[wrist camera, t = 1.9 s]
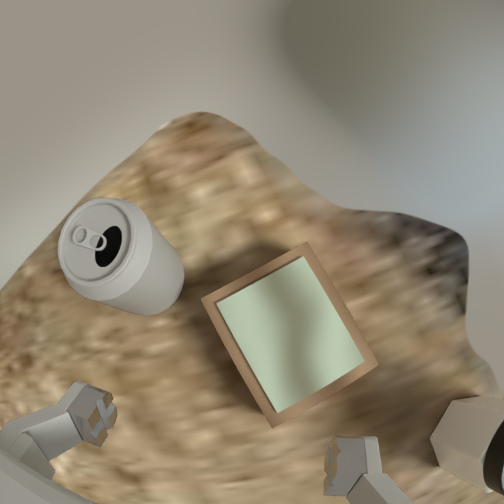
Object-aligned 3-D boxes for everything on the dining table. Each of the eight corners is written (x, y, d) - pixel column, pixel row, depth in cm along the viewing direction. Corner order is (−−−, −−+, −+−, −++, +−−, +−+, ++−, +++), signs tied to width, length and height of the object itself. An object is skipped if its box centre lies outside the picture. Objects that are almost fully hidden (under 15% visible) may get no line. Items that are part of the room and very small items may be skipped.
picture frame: (270, 417, 26) (272, 429, 22) (208, 305, 30) (199, 298, 25) (364, 362, 27) (380, 364, 23) (301, 254, 31) (307, 240, 27)
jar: (494, 437, 24) (563, 454, 12) (442, 480, 23) (505, 517, 11) (477, 378, 26) (553, 380, 15) (421, 422, 25) (492, 448, 14)
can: (172, 327, 29) (118, 313, 18) (106, 302, 30) (34, 275, 18) (197, 254, 31) (162, 199, 20) (131, 234, 32) (75, 179, 20)
